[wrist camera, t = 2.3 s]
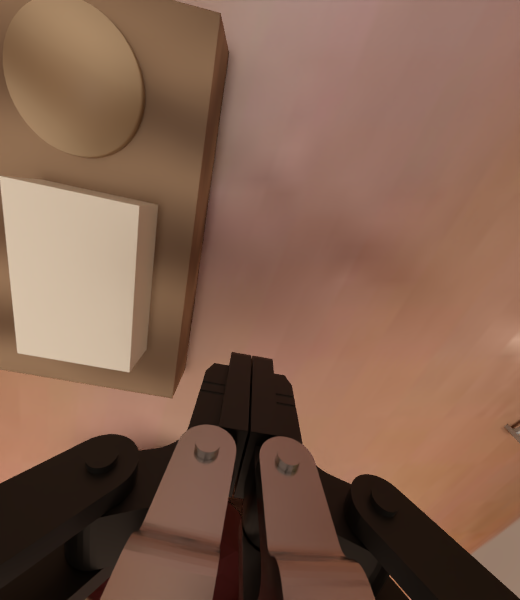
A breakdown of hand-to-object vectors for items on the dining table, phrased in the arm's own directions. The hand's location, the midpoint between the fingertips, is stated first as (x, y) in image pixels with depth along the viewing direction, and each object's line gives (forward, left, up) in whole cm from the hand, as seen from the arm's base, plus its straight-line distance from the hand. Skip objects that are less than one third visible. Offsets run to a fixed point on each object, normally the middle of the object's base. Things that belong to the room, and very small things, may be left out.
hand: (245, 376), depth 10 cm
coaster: (-9, -10, -7) cm, 15 cm away
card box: (0, -9, -7) cm, 11 cm away
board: (-3, -10, -11) cm, 15 cm away
